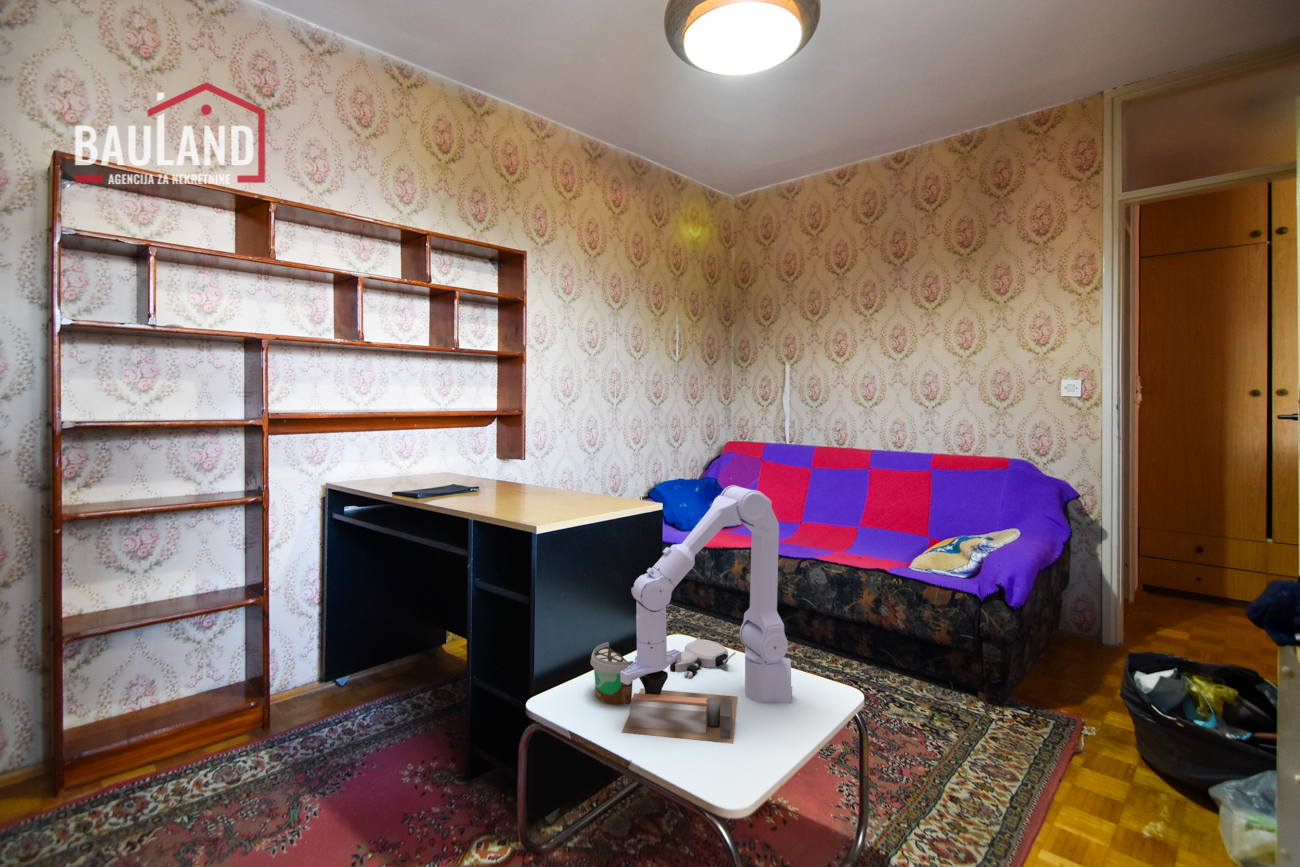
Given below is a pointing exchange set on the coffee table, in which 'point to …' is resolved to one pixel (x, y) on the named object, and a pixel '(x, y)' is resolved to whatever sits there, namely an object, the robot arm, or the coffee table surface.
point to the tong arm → (711, 704)
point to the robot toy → (701, 657)
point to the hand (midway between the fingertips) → (652, 708)
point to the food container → (610, 676)
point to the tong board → (686, 735)
